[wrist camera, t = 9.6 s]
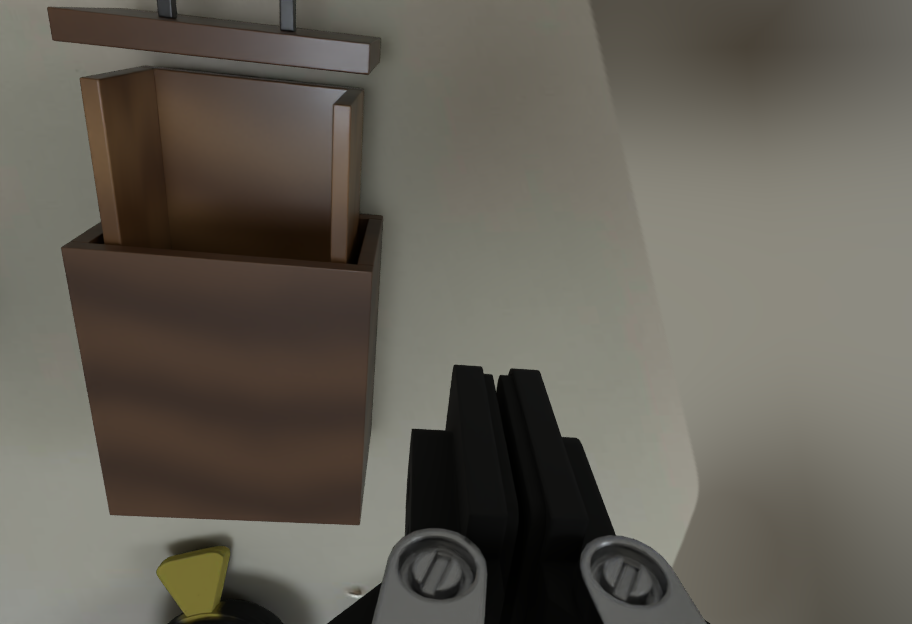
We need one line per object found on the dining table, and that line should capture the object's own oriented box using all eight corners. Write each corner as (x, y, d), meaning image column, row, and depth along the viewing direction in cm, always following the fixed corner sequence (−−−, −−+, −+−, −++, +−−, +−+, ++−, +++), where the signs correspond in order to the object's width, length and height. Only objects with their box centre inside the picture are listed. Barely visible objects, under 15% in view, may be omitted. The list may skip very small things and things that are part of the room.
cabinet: (142, 194, 35) (60, 247, 27) (383, 215, 36) (372, 272, 28) (169, 419, 41) (109, 515, 33) (371, 430, 43) (359, 525, 35)
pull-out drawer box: (108, -138, 27) (15, -183, 21) (387, -100, 28) (378, -133, 22) (156, 281, 36) (100, 337, 30) (368, 297, 37) (357, 354, 31)
